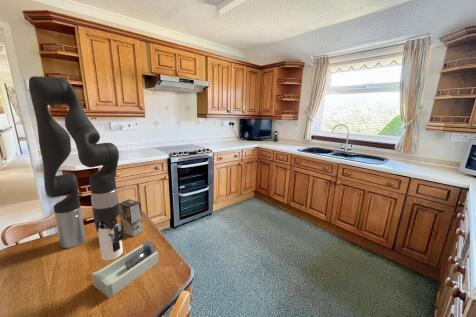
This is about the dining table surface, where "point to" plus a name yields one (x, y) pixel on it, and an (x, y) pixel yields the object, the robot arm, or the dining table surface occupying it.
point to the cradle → (122, 273)
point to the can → (108, 244)
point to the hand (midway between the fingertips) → (111, 247)
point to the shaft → (141, 255)
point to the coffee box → (131, 217)
